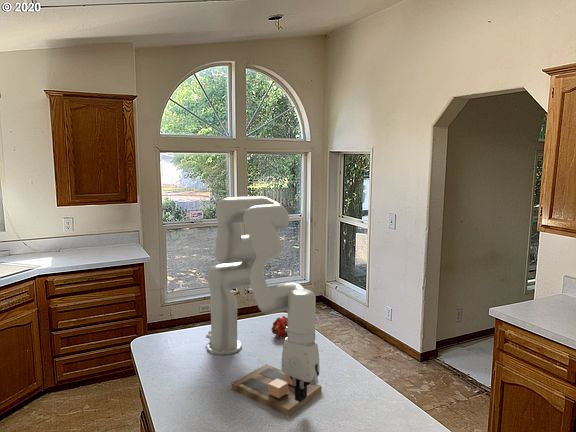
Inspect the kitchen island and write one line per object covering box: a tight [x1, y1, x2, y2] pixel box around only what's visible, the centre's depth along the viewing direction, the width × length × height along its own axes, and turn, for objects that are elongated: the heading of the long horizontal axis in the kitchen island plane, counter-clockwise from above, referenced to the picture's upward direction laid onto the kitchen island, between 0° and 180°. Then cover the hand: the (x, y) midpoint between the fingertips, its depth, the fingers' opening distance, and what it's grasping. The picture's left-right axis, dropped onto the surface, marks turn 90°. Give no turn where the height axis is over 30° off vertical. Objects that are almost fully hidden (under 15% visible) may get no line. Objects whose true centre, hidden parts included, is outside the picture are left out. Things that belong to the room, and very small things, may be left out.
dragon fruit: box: [270, 315, 288, 339], centre depth 171 cm, size 8×8×12 cm
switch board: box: [230, 364, 322, 417], centre depth 130 cm, size 22×16×2 cm
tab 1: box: [268, 378, 288, 398], centre depth 124 cm, size 4×4×3 cm
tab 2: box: [286, 375, 294, 386], centre depth 130 cm, size 4×4×3 cm
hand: (300, 399), depth 119 cm, fingers closed
